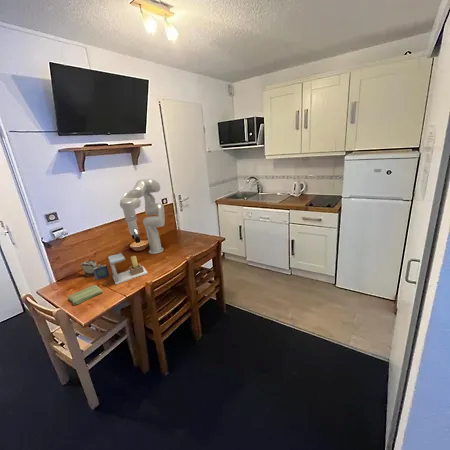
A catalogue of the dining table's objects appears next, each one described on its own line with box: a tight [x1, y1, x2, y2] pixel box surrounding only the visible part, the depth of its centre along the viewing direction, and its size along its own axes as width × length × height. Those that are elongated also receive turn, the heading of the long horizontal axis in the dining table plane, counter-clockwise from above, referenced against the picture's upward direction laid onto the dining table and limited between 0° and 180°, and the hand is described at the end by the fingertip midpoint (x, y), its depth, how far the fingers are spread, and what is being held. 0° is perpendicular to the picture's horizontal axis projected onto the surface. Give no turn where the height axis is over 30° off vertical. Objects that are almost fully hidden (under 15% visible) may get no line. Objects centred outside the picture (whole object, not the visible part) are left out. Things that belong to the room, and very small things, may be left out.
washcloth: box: [67, 284, 103, 306], centre depth 159 cm, size 13×18×3 cm
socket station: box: [107, 252, 149, 285], centre depth 178 cm, size 14×22×16 cm, turn 122°
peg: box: [130, 255, 139, 269], centre depth 181 cm, size 4×4×12 cm
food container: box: [80, 260, 98, 278], centre depth 187 cm, size 12×6×10 cm, turn 71°
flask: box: [93, 263, 111, 281], centre depth 179 cm, size 9×3×11 cm, turn 121°
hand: (136, 240), depth 181 cm, fingers open, 9 cm apart
